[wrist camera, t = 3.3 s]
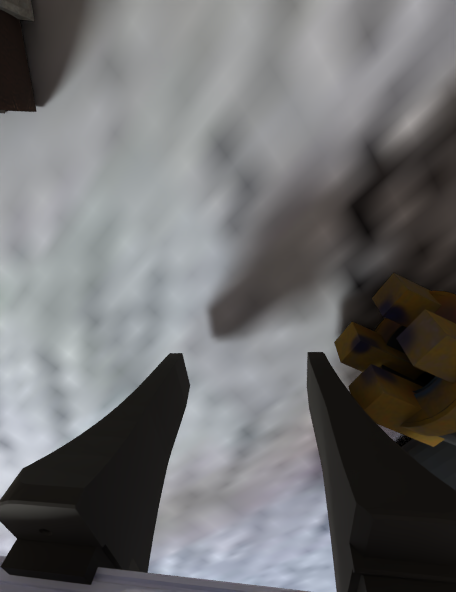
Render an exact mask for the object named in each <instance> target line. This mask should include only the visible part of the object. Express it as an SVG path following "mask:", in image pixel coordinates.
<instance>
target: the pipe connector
mask: <svg viewBox="0 0 456 592" xmlns="http://www.w3.org/2000/svg"><path fill="white" fill-rule="evenodd" d="M372 300H373V301H374V303H375V304H376V306H377V308H378V309H379V311H380V313H381V314H382V316H383V317H385V319H384V320H383V321H382V322H381V323H380V324H379V325H378V326H377V328H376V330H375V331H372V330H370V329H368V328H365V327H363V326H361V325H359V324H357V323H354V322H351V323H350V325H349V326H348V327H347V328H346V329H345V330H344V332H343V333H342V334H341V335H340V336H339V337H338V339H337V340H336V341H335V342H334V343H335V346H336V349H337V352H338V355H339V358H340V362H341V363H343V364H346V365H348V366H350V367H353V368H355V369H357V370H359V371H362V373H361V374H360V375H359V376H358V377H357V378H356V379H355V380H354V381H353V382H352V383H351V384H350V385H349V390H350V393H351V395H352V396H353V397H354V399H355V400H356V401H357V402H358V404H359V405H360V406H361V407H362V408H363V410H364V411H365V412H366V413H367V414H368V415H369V416H370V417H371V418H372V420H373V421H374V422H375V423H377V424H379V425H382V426H384V427H386V428H389V429H391V430H394V431H396V432H399V433H401V434H403V435H406V436H408V437H411V438H413V439H411V440H410V441H409V442H407V443H406V444H405V445H403V446H402V447H401V448H402V449H404V450H405V451H406V452H407V453H408V454H409V455H410V456H411V457H412V458H414V459H415V460H416V461H417V462H418V463H420V464H421V465H422V466H423V467H425V468H426V469H427V470H428V471H430V472H431V473H432V474H433V475H435V476H436V477H438V478H439V479H440V480H442V481H443V482H444V483H446V484H447V485H449V486H450V487H451V488H453V489H454V490H455V491H456V295H455V294H452V293H449V292H445V291H430V290H428V289H426V288H424V287H422V286H420V285H418V284H416V283H414V282H412V281H410V280H408V279H406V278H404V277H401V276H399V275H397V274H395V273H393V274H392V275H391V276H390V278H389V279H388V280H387V281H386V282H385V283H384V285H383V286H382V287H381V288H380V289H379V290H378V292H377V293H376V294H375V295H374V296H373V298H372Z"/></svg>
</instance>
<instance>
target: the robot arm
mask: <svg viewBox="0 0 456 592" xmlns="http://www.w3.org/2000/svg"><path fill="white" fill-rule="evenodd" d="M189 388H190V383H189V379H188V375H187V371H186V367H185V363H184V359H183V354H182V353H170V354H169V355H168V356H167V357H166V358H165V359H164V360H163V361H162V362H161V363H160V364H159V365H158V367H157V368H156V369H155V370H154V371H153V372H152V373H151V374H150V375H149V376H148V377H147V378H146V379H145V381H144V382H143V383H142V384H141V385H140V386H139V387H138V388H137V389H136V390H135V391H134V392H133V393H132V394H131V395H130V396H128V397H127V398H126V399H125V400H124V401H123V402H122V403H121V404H120V405H119V406H118V407H116V408H115V409H114V410H113V411H112V412H110V413H109V414H108V415H107V416H105V417H104V418H103V419H102V420H100V421H99V422H98V423H96V424H95V425H93V426H92V427H91V428H89V429H88V430H87V431H85V432H84V433H82V434H81V435H79V436H78V437H76V438H75V439H73V440H72V441H70V442H69V443H67V444H65V445H64V446H62V447H61V448H59V449H57V450H56V451H54V452H52V453H51V454H49V455H47V456H45V457H43V458H41V459H40V460H38V461H36V462H34V463H32V464H30V465H29V466H27V467H25V468H23V469H22V470H21V472H20V473H19V474H18V476H17V477H16V479H15V480H14V481H13V483H12V484H11V486H10V487H9V488H8V490H7V491H6V492H5V494H4V495H3V497H2V498H1V499H0V521H1V523H2V524H3V525H4V526H5V527H6V528H7V529H8V530H9V531H10V532H11V533H12V534H13V535H14V536H15V537H16V538H17V540H16V542H15V543H14V545H13V547H12V548H11V550H10V551H9V553H8V555H7V556H0V592H309V591H300V590H292V589H283V588H274V587H266V586H257V585H248V584H240V583H231V582H223V581H214V580H205V579H197V578H188V577H179V576H171V575H162V574H153V573H148V566H149V560H150V553H151V547H152V541H153V535H154V530H155V524H156V519H157V513H158V508H159V503H160V498H161V493H162V488H163V484H164V479H165V475H166V470H167V466H168V462H169V458H170V455H171V451H172V448H173V445H174V442H175V439H176V436H177V433H178V430H179V427H180V424H181V421H182V418H183V414H184V411H185V408H186V404H187V399H188V394H189ZM307 392H308V401H309V409H310V414H311V419H312V423H313V428H314V432H315V437H316V441H317V446H318V450H319V455H320V459H321V465H322V471H323V478H324V486H325V494H326V502H327V510H328V518H329V526H330V535H331V544H332V552H333V561H334V571H335V580H336V589H337V592H456V491H455V490H454V489H453V488H451V487H450V486H449V485H447V484H446V483H444V482H443V481H442V480H440V479H439V478H438V477H436V476H435V475H433V474H432V473H431V472H430V471H428V470H427V469H426V468H425V467H423V466H422V465H421V464H420V463H418V462H417V461H416V460H415V459H414V458H412V457H411V456H410V455H409V454H408V453H407V452H406V451H405V450H404V449H402V448H401V447H400V446H399V445H398V444H397V443H396V442H395V441H393V440H392V439H391V438H390V437H389V436H388V435H387V434H386V433H385V432H384V431H383V430H382V429H381V428H380V427H379V426H378V425H377V424H376V423H375V422H374V421H373V420H372V418H371V417H370V416H369V415H368V414H367V413H366V412H365V411H364V410H363V408H362V407H361V406H360V405H359V404H358V402H357V401H356V400H355V399H354V397H353V396H352V395H351V394H350V392H349V391H348V390H347V388H346V387H345V385H344V384H343V383H342V381H341V380H340V378H339V377H338V376H337V374H336V372H335V371H334V369H333V368H332V366H331V365H330V363H329V361H328V359H327V357H326V356H325V354H324V353H323V352H308V360H307Z"/></svg>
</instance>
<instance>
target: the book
mask: <svg viewBox="0 0 456 592" xmlns="http://www.w3.org/2000/svg"><path fill="white" fill-rule="evenodd" d="M20 20H28V21H34V15H33V9H32V3H31V0H0V113H5V110H7V111H28V112H36V106H35V101H34V95H33V90H32V84H31V79H30V73H29V68H28V62H27V57H26V51H25V46H24V41H23V35H22V30H21V24H20Z"/></svg>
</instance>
